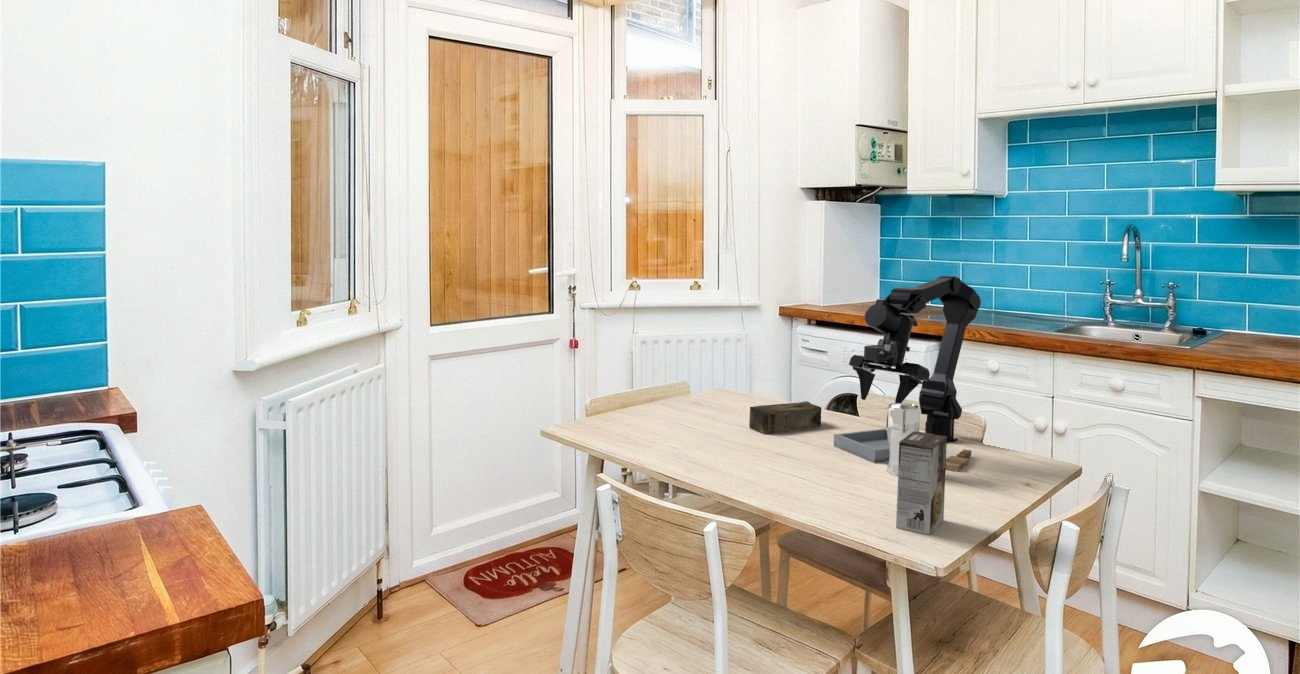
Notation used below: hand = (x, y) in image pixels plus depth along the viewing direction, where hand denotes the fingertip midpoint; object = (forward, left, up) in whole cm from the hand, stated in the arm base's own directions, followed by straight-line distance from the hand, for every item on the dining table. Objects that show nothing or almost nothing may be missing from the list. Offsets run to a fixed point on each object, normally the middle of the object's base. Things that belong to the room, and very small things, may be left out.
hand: (879, 402), depth 186 cm
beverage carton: (+5, -34, -14) cm, 37 cm away
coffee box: (+21, +38, -13) cm, 45 cm away
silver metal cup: (+3, +11, -13) cm, 18 cm away
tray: (-4, -5, -13) cm, 15 cm away
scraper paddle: (-13, +11, -13) cm, 22 cm away
